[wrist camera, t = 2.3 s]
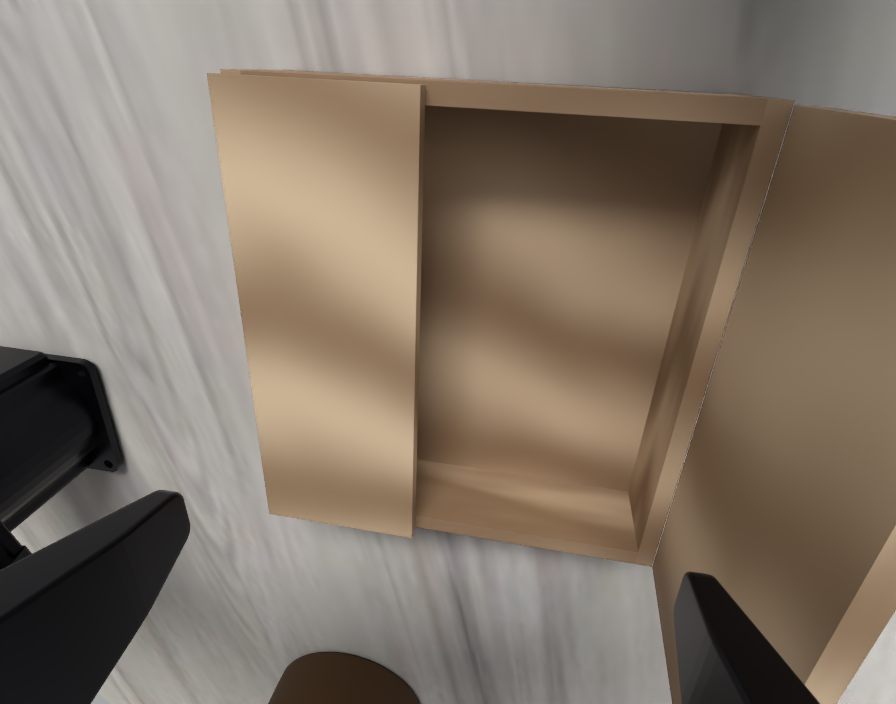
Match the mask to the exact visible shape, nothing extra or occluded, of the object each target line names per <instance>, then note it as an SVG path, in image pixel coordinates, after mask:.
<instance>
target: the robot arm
mask: <svg viewBox="0 0 896 704" xmlns="http://www.w3.org/2000/svg"><path fill="white" fill-rule="evenodd" d="M122 464H123V461H122V457H121V454H120V450H119V447H118V443H117V440H116V436H115V433H114V430H113V426H112V423H111V419H110V416H109V412H108V409H107V405H106V402H105V398H104V395H103V392H102V388H101V385H100V381H99V378H98V374H97V371H96V368H95V366H94V365H93V364H92V363H91V362H90V361H88V360H85V359H80V358H72V357H65V356H58V355H51V354H45V353H42V352H38V351H31V350H23V349H16V348H9V347H2V346H0V704H91V702H92V701H93V699H94V698H95V696H96V695H97V693H98V691H99V690H100V688H101V687H102V685H103V684H104V682H105V681H106V679H107V677H108V676H109V674H110V673H111V671H112V670H113V668H114V667H115V665H116V663H117V662H118V660H119V659H120V657H121V656H122V654H123V653H124V651H125V649H126V648H127V646H128V645H129V643H130V642H131V640H132V639H133V637H134V635H135V634H136V632H137V631H138V629H139V628H140V626H141V624H142V623H143V621H144V620H145V618H146V616H147V615H148V613H149V611H150V609H151V608H152V606H153V604H154V602H155V600H156V598H157V596H158V594H159V593H160V591H161V589H162V587H163V585H164V583H165V581H166V579H167V577H168V575H169V573H170V571H171V569H172V567H173V566H174V564H175V562H176V560H177V558H178V556H179V554H180V552H181V550H182V548H183V546H184V544H185V542H186V541H187V538H188V536H189V533H190V521H189V518H188V514H187V510H186V506H185V502H184V499H183V496H182V495H181V494H180V493H178V492H173V491H166V490H158V491H155V492H153V493H151V494H149V495H147V496H145V497H143V498H141V499H139V500H137V501H135V502H133V503H131V504H129V505H127V506H125V507H123V508H121V509H119V510H117V511H116V512H114V513H112V514H110V515H108V516H106V517H104V518H102V519H100V520H98V521H96V522H94V523H92V524H90V525H88V526H86V527H84V528H82V529H80V530H78V531H76V532H74V533H72V534H70V535H68V536H66V537H64V538H62V539H60V540H59V541H57V542H55V543H53V544H51V545H49V546H47V547H45V548H43V549H41V550H39V551H37V552H35V553H33V554H32V553H31V552H30V551H29V549H28V548H27V547H26V546H22V545H21V544H20V543H19V542H18V540H17V539H16V538H15V537H14V536H13V535H12V533H11V531H12V530H13V529H15V528H16V527H17V526H18V525H19V524H21V523H22V522H23V521H24V520H25V519H27V518H28V517H29V516H30V515H31V514H33V513H34V512H35V511H36V510H37V509H39V508H40V507H41V506H42V505H43V504H44V503H46V502H47V501H48V500H49V499H50V498H52V497H53V496H54V495H55V494H56V493H58V492H59V491H60V490H61V489H62V488H64V487H65V486H66V485H67V484H68V483H70V482H71V481H72V480H73V479H74V478H75V477H77V476H78V475H79V474H80V473H81V472H83V471H84V470H85V469H86V468H92V469H98V470H104V471H110V472H114V471H116V470H117V469H118V468H120V467H121V466H122ZM673 619H674V630H675V641H676V651H677V662H678V672H679V683H680V693H681V703H682V704H820V703H819V701H818V700H817V699H816V698H815V697H814V695H813V694H812V693H811V692H810V691H809V689H808V688H807V687H806V686H805V685H804V683H803V682H802V681H801V680H800V679H799V677H798V676H797V675H796V674H795V673H794V671H793V670H792V669H791V668H790V667H789V665H788V664H787V663H786V662H785V661H784V659H783V658H782V657H781V656H780V655H779V653H778V652H777V651H776V650H775V649H774V647H773V646H772V645H771V644H770V643H769V641H768V640H767V639H766V638H765V637H764V635H763V634H762V633H761V632H760V631H759V629H758V628H757V627H756V626H755V625H754V623H753V622H752V621H751V620H750V619H749V617H748V616H747V615H746V614H745V613H744V611H743V610H742V609H741V608H740V607H739V605H738V604H737V603H736V602H735V601H734V599H733V598H732V597H731V596H730V595H729V593H728V592H727V591H726V590H725V589H724V587H723V586H722V585H721V584H720V583H719V581H718V580H717V579H716V578H715V577H713V576H712V575H710V574H704V573H698V572H691V571H689V572H686V573H685V574H684V576H683V578H682V582H681V585H680V588H679V591H678V594H677V597H676V601H675V604H674V611H673Z"/></svg>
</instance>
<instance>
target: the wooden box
mask: <svg viewBox="0 0 896 704" xmlns="http://www.w3.org/2000/svg"><path fill="white" fill-rule="evenodd" d="M220 72H221V74H239V75H257V76H275V77H293V78H311V79H330V80H348V81H366V82H384V83H402V84H420V85H425V127H424V170H423V213H422V257H421V300H420V343H419V387H418V430H417V473H416V517H415V527H419V528H425V529H431V530H437V531H443V532H449V533H455V534H461V535H467V536H473V537H479V538H485V539H491V540H496V541H502V542H508V543H514V544H520V545H526V546H532V547H538V548H544V549H550V550H556V551H562V552H568V553H573V554H579V555H585V556H591V557H597V558H603V559H609V560H615V561H621V562H627V563H633V564H639V565H645V566H651V567H652V563H653V560H654V557H655V554H656V550H657V547H658V544H659V541H660V537H661V534H662V531H663V528H664V524H665V521H666V518H667V515H668V511H669V508H670V505H671V501H672V498H673V495H674V492H675V488H676V485H677V482H678V479H679V475H680V472H681V469H682V466H683V462H684V459H685V456H686V453H687V449H688V446H689V443H690V440H691V436H692V433H693V430H694V427H695V423H696V420H697V417H698V414H699V410H700V407H701V404H702V401H703V397H704V394H705V391H706V388H707V384H708V381H709V378H710V375H711V371H712V368H713V365H714V362H715V358H716V355H717V352H718V348H719V345H720V342H721V339H722V335H723V332H724V329H725V326H726V322H727V319H728V316H729V313H730V309H731V306H732V303H733V300H734V296H735V293H736V290H737V287H738V283H739V280H740V277H741V274H742V270H743V267H744V264H745V261H746V257H747V254H748V251H749V248H750V244H751V241H752V238H753V235H754V231H755V228H756V225H757V222H758V218H759V215H760V212H761V209H762V205H763V202H764V199H765V195H766V192H767V189H768V186H769V182H770V179H771V176H772V173H773V169H774V166H775V163H776V160H777V156H778V153H779V150H780V147H781V143H782V140H783V137H784V134H785V130H786V127H787V124H788V121H789V117H790V114H791V111H792V108H793V104H794V101H795V100H786V99H778V98H769V97H761V96H753V95H743V94H724V93H705V92H687V91H668V90H649V89H631V88H612V87H593V86H574V85H556V84H537V83H518V82H500V81H481V80H462V79H444V78H425V77H406V76H387V75H369V74H350V73H331V72H313V71H294V70H236V69H220Z"/></svg>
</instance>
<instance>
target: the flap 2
mask: <svg viewBox="0 0 896 704" xmlns="http://www.w3.org/2000/svg"><path fill="white" fill-rule="evenodd" d="M689 571H691V572H698V573H704V574H710V575H712V576H713V577H715V578H716V579H717V580H718V581H719V583H720V584H721V585H722V586H723V587H724V589H725V590H726V591H727V592H728V593H729V595H730V596H731V597H732V598H733V599H734V601H735V602H736V603H737V604H738V605H739V607H740V608H741V609H742V610H743V611H744V613H745V614H746V615H747V616H748V617H749V619H750V620H751V621H752V622H753V623H754V625H755V626H756V627H757V628H758V629H759V631H760V632H761V633H762V634H763V635H764V637H765V638H766V639H767V640H768V641H769V643H770V644H771V645H772V646H773V647H774V649H775V650H776V651H777V652H778V653H779V655H780V656H781V657H782V658H783V659H784V661H785V662H786V663H787V664H788V665H789V667H790V668H791V669H792V670H793V671H794V673H795V674H796V675H797V676H798V677H799V679H800V680H801V681H802V682H803V683H804V685H805V686H806V687H807V688H808V689H809V691H810V692H811V693H812V694H813V695H814V697H815V698H816V699H817V700H818V701H819V703H820V704H837V702H838V700H839V699H840V697H841V696H842V694H843V693H844V691H845V689H846V688H847V686H848V685H849V683H850V682H851V680H852V678H853V677H854V675H855V674H856V672H857V670H858V669H859V667H860V666H861V664H862V663H863V661H864V659H865V658H866V656H867V655H868V653H869V651H870V650H871V648H872V647H873V645H874V644H875V642H876V640H877V639H878V637H879V636H880V634H881V633H882V631H883V629H884V628H885V626H886V625H887V623H888V621H889V620H890V618H891V617H892V615H893V614H894V612H895V610H896V117H893V116H886V115H878V114H871V113H864V112H856V111H849V110H842V109H835V108H827V107H817V106H800V105H795V106H794V110H793V113H792V116H791V119H790V123H789V126H788V129H787V132H786V136H785V139H784V142H783V145H782V149H781V152H780V155H779V158H778V161H777V165H776V168H775V171H774V174H773V178H772V181H771V184H770V187H769V191H768V194H767V197H766V200H765V204H764V207H763V210H762V213H761V217H760V220H759V223H758V226H757V230H756V233H755V236H754V239H753V243H752V246H751V249H750V252H749V256H748V259H747V262H746V265H745V268H744V272H743V275H742V278H741V281H740V285H739V288H738V291H737V294H736V298H735V301H734V304H733V307H732V311H731V314H730V317H729V320H728V324H727V327H726V330H725V333H724V337H723V340H722V343H721V346H720V350H719V353H718V356H717V359H716V362H715V366H714V369H713V372H712V375H711V379H710V382H709V385H708V388H707V392H706V395H705V398H704V401H703V405H702V408H701V411H700V414H699V418H698V421H697V424H696V427H695V431H694V434H693V437H692V440H691V444H690V447H689V450H688V453H687V457H686V460H685V463H684V466H683V469H682V473H681V476H680V479H679V482H678V486H677V489H676V492H675V495H674V499H673V502H672V505H671V508H670V512H669V515H668V518H667V521H666V525H665V528H664V531H663V534H662V538H661V541H660V544H659V547H658V551H657V554H656V557H655V560H654V564H653V574H654V581H655V588H656V595H657V602H658V608H659V615H660V622H661V629H662V636H663V643H664V650H665V656H666V663H667V670H668V677H669V684H670V691H671V698H672V704H682V703H681V693H680V683H679V672H678V662H677V651H676V641H675V630H674V619H673V611H674V604H675V601H676V597H677V594H678V591H679V588H680V585H681V582H682V578H683V576H684V574H685V573H686V572H689Z"/></svg>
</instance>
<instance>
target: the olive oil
mask: <svg viewBox="0 0 896 704" xmlns="http://www.w3.org/2000/svg"><path fill="white" fill-rule="evenodd" d="M268 704H419V701H418V699H417V698H416V696H415V694H414V693H413V691H412V690H411V689H410V687H409V686H408V685H407V684H406V683H405V682H404V681H403V680H401V679H400V678H399V677H398V676H397V675H395V674H394V673H392V672H391V671H389V670H388V669H386V668H384V667H382V666H380V665H378V664H376V663H374V662H372V661H369V660H367V659H364V658H361V657H358V656H354V655H349V654H344V653H336V652H320V653H313V654H309V655H305V656H303V657H300V658H298V659H296V660H295V661H293V662H292V663H291V664H290V665H289V666H288V667H287V668H286V670H285V671H284V673H283V675H282V677H281V679H280V681H279V683H278V685H277V687H276V689H275V691H274V693H273V695H272V697H271V699H270V701H269V703H268Z"/></svg>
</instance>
